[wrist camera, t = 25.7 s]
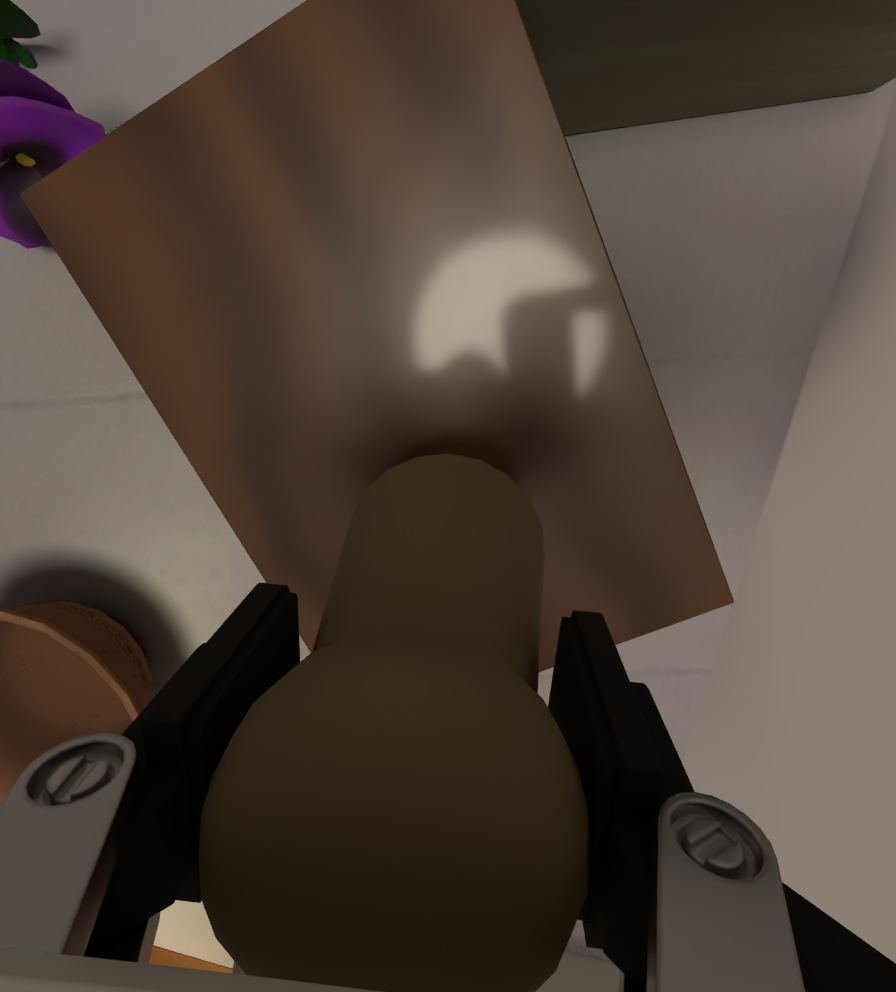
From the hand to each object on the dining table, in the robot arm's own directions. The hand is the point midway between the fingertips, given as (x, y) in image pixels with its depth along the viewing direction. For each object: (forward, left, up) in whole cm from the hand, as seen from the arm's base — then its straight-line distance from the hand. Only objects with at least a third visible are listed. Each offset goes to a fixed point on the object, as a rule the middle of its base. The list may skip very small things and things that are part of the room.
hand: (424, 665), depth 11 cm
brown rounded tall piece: (0, 0, -6) cm, 6 cm away
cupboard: (+2, -3, -35) cm, 36 cm away
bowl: (+35, +28, -36) cm, 57 cm away
